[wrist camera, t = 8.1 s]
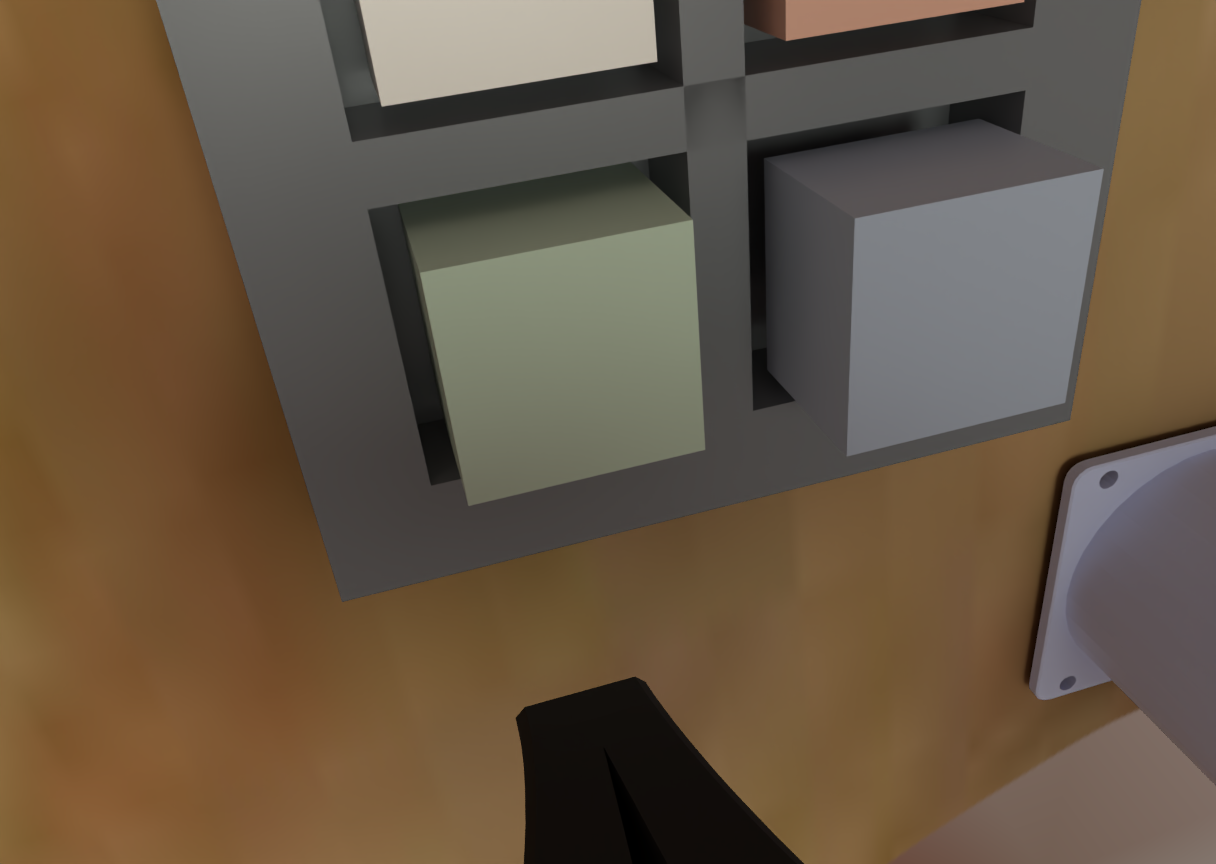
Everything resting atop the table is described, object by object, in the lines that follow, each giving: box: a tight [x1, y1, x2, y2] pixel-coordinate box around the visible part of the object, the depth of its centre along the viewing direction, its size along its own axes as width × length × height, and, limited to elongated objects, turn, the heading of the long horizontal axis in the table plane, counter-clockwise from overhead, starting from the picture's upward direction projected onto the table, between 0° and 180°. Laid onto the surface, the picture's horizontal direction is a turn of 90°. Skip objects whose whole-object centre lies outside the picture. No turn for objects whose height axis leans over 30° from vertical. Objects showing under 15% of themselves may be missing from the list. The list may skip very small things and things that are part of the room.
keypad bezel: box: [156, 0, 1141, 602], centre depth 17 cm, size 15×15×3 cm
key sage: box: [398, 162, 705, 506], centre depth 17 cm, size 4×4×3 cm
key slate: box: [764, 119, 1104, 456], centre depth 17 cm, size 4×4×3 cm
